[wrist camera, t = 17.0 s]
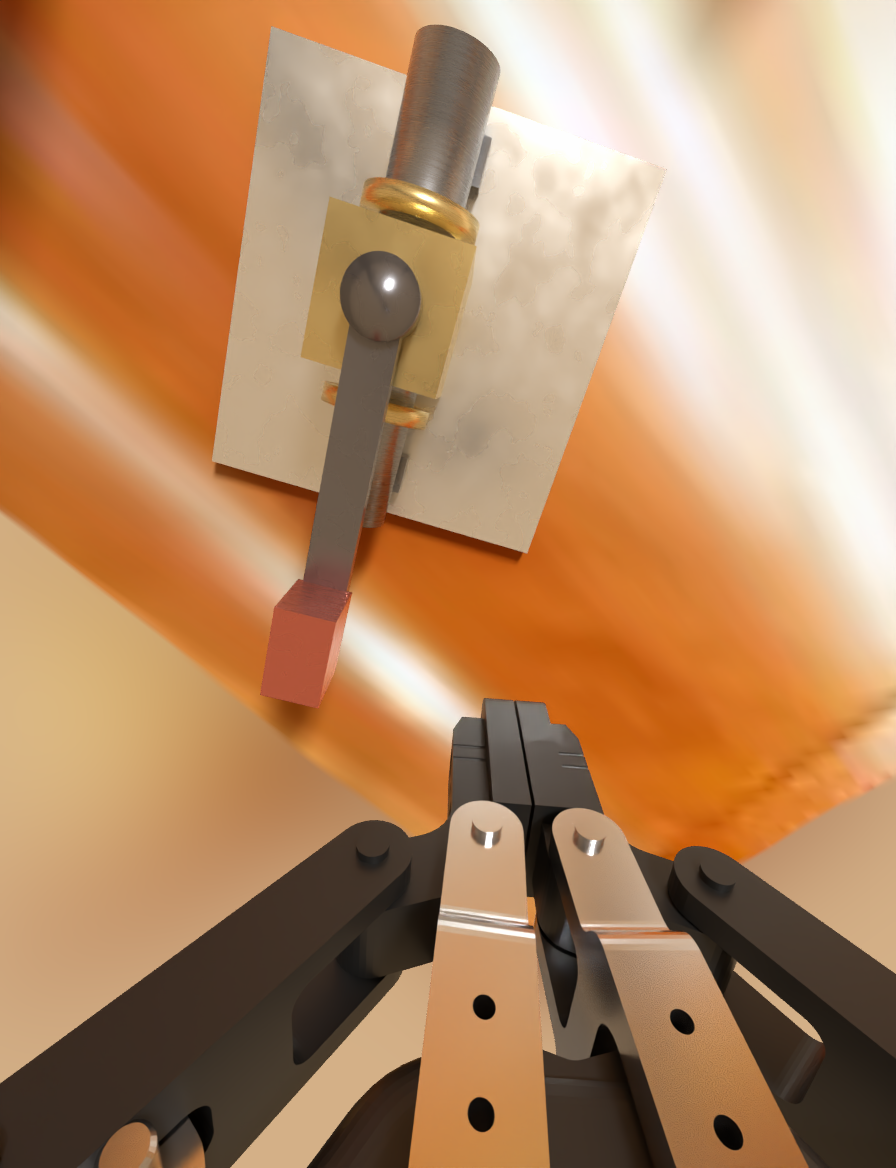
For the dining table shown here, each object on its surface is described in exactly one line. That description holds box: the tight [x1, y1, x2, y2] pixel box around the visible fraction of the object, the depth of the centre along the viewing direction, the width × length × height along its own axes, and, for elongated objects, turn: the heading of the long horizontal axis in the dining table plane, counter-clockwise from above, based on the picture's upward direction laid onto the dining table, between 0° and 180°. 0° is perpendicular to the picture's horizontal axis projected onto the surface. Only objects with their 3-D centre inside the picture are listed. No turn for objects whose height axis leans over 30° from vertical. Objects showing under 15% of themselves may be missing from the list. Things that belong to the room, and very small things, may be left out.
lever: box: [260, 251, 422, 708], centre depth 26 cm, size 21×4×5 cm, turn 165°
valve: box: [212, 25, 667, 553], centre depth 30 cm, size 24×23×10 cm
